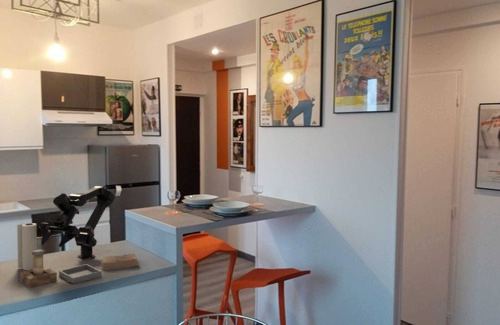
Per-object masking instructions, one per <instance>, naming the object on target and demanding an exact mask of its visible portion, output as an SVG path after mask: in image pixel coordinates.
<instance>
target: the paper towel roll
mask: <svg viewBox="0 0 500 325" xmlns="http://www.w3.org/2000/svg"><path fill="white" fill-rule="evenodd" d="M16 228H17V231H16V233H17V238H16V239H17V269H22V270H23V271H28V270H32V269H33V255H32V251H34V250H38V248H37V245H38V244H37V240H38V239H37V223H35V222H34V223H33V222H29V223H21V224H17V226H16Z"/></svg>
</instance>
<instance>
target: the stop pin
mask: <svg viewBox="0 0 500 325" xmlns="http://www.w3.org/2000/svg"><path fill="white" fill-rule="evenodd" d="M44 254H45V250H44V249H37V250H34V251H32V255H33V275H34V276H35V275H39V274H43V267H44Z"/></svg>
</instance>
